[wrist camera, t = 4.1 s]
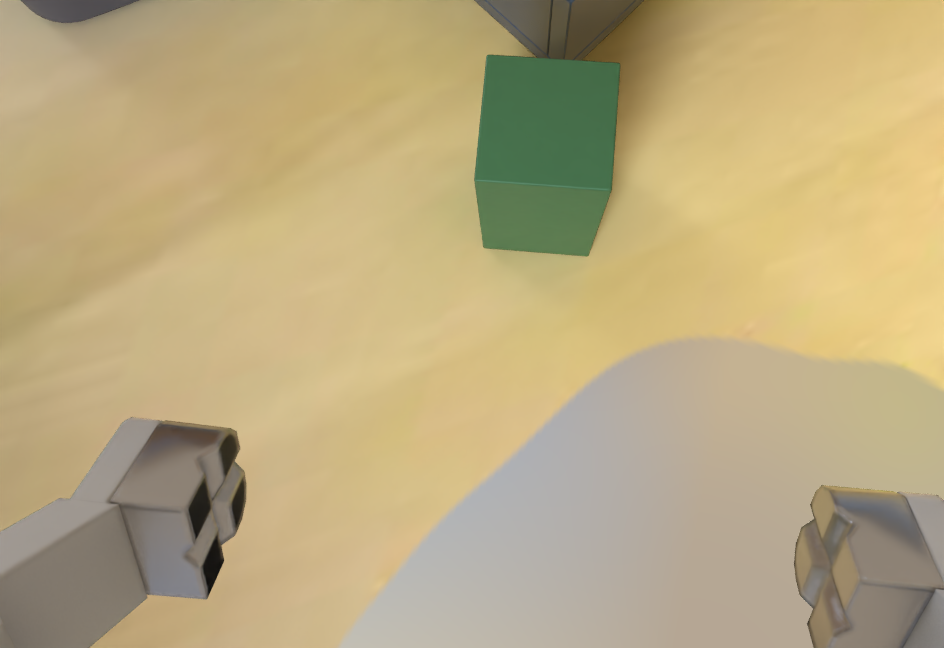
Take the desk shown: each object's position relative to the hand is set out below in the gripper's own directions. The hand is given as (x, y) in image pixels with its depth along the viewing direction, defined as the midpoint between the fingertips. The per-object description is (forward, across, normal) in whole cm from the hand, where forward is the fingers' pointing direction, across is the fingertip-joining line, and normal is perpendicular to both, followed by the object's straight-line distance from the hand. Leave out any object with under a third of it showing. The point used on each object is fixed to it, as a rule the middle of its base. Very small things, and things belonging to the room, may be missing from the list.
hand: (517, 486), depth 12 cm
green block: (+26, 0, +8) cm, 27 cm away
